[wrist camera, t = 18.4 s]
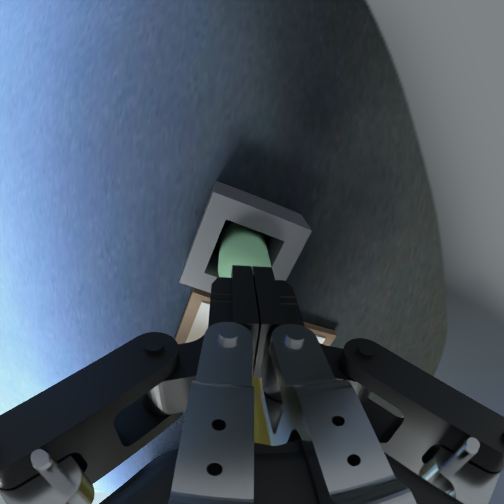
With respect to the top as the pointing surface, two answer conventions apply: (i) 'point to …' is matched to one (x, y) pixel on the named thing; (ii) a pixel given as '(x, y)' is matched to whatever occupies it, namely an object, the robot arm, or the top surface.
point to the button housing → (249, 215)
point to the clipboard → (198, 319)
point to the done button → (241, 249)
